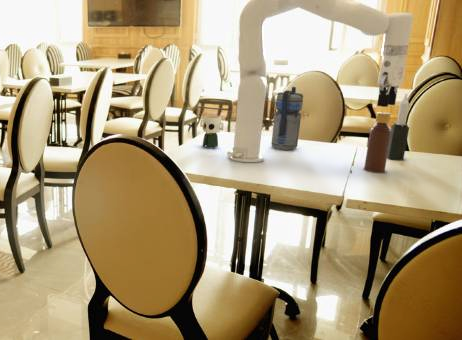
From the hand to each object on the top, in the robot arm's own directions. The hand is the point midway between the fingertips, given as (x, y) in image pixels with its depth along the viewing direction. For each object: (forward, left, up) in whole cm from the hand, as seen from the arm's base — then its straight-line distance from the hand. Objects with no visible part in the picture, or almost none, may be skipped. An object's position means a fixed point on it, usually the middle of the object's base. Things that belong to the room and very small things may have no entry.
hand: (386, 105), depth 176 cm
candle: (+25, +2, -23) cm, 34 cm away
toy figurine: (-17, +58, -23) cm, 65 cm away
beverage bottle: (+6, +38, -23) cm, 45 cm away
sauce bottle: (0, 0, -23) cm, 23 cm away
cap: (0, 0, -6) cm, 6 cm away
